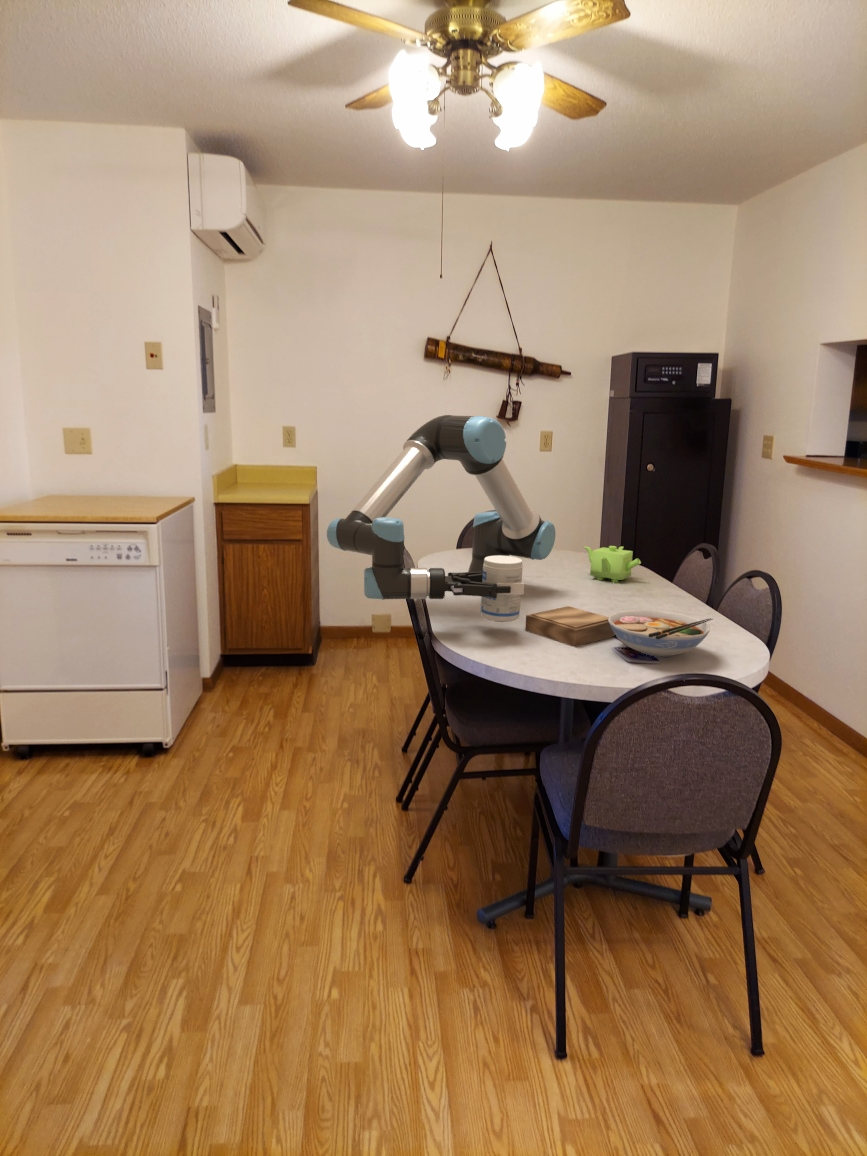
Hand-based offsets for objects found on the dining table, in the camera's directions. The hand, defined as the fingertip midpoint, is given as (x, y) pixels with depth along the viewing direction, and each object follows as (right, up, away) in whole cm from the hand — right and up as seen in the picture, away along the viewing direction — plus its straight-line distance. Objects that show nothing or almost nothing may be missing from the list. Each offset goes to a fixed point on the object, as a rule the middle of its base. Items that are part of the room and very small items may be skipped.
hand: (519, 583), depth 188 cm
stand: (+13, -12, +5) cm, 19 cm away
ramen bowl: (+31, -16, -9) cm, 36 cm away
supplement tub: (-5, -8, +2) cm, 10 cm away
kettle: (+38, +1, +68) cm, 77 cm away
